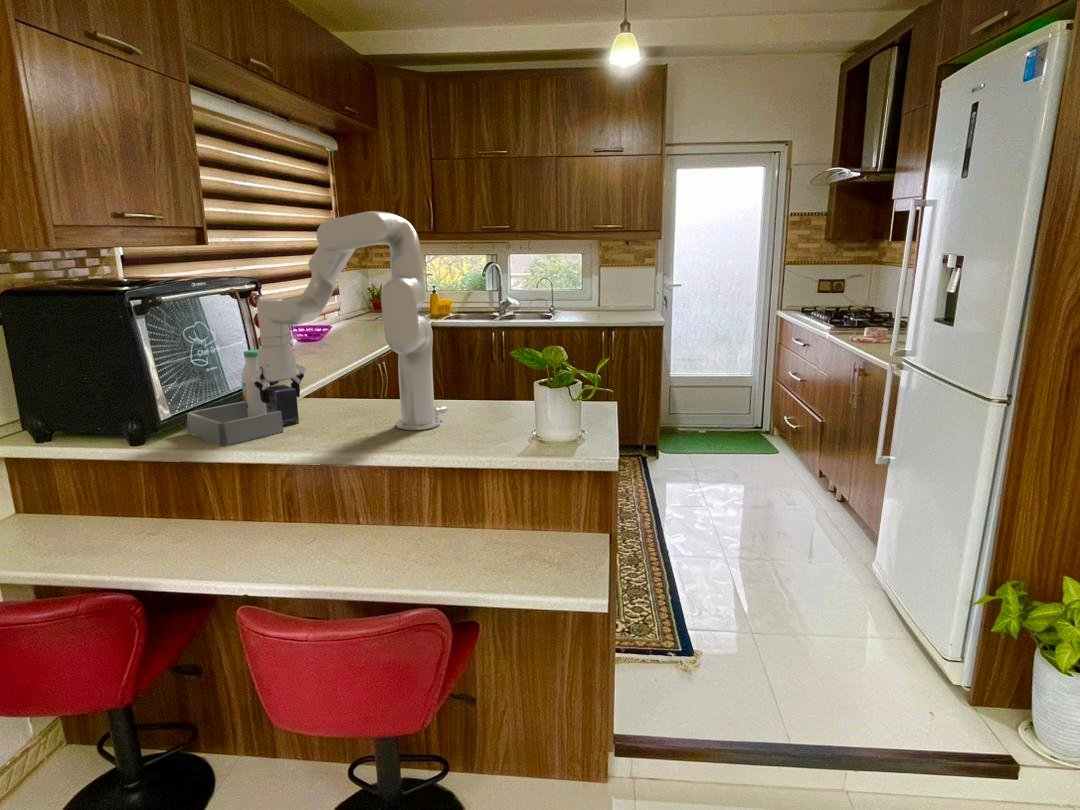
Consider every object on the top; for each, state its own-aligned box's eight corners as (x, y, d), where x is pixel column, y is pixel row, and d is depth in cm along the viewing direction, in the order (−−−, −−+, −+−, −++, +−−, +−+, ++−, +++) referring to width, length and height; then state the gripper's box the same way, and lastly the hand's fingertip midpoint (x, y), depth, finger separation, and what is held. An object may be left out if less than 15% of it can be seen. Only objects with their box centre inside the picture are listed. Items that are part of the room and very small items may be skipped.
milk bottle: (277, 411, 210) (270, 348, 205) (264, 418, 203) (257, 352, 198) (253, 411, 211) (246, 348, 206) (240, 417, 203) (232, 352, 199)
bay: (246, 420, 200) (244, 401, 198) (283, 432, 187) (281, 411, 186) (187, 433, 187) (184, 412, 185) (222, 446, 174) (220, 424, 173)
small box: (300, 423, 196) (297, 388, 194) (278, 427, 192) (274, 392, 190) (288, 416, 204) (284, 383, 202) (266, 420, 200) (262, 386, 198)
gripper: (295, 337, 201) (300, 392, 205) (239, 344, 188) (246, 403, 192) (309, 339, 197) (314, 395, 201) (253, 346, 184) (259, 407, 188)
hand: (281, 399), depth 196 cm, fingers open, 9 cm apart
